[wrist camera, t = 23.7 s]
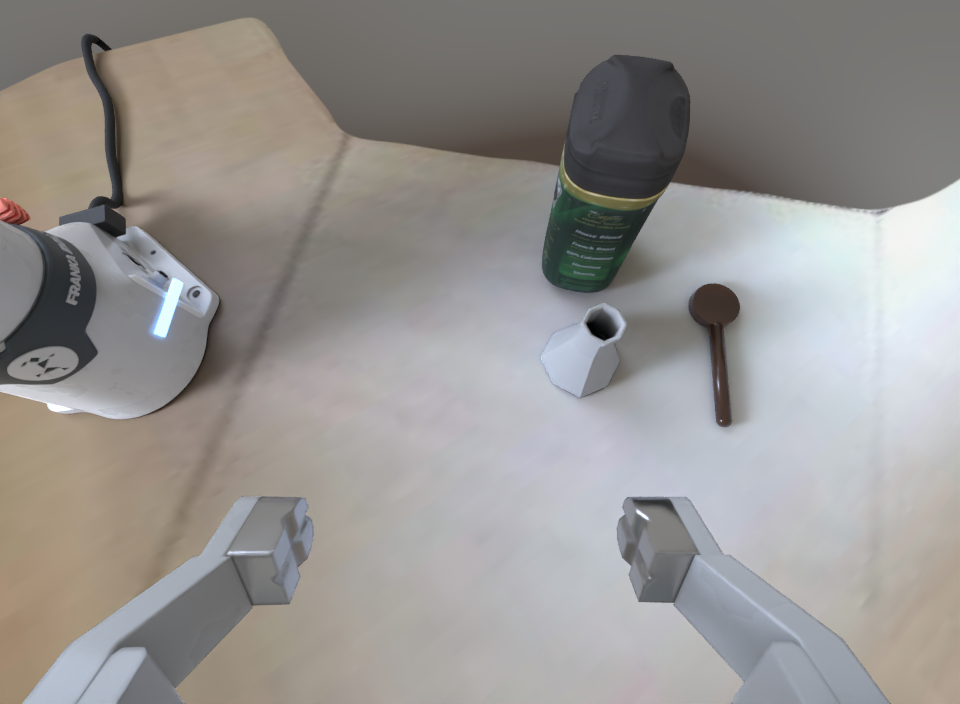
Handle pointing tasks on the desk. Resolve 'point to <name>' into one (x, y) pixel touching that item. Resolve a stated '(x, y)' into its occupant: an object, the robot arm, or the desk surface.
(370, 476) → the desk surface
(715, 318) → the wooden spoon
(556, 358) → the flask
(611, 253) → the coffee jar
